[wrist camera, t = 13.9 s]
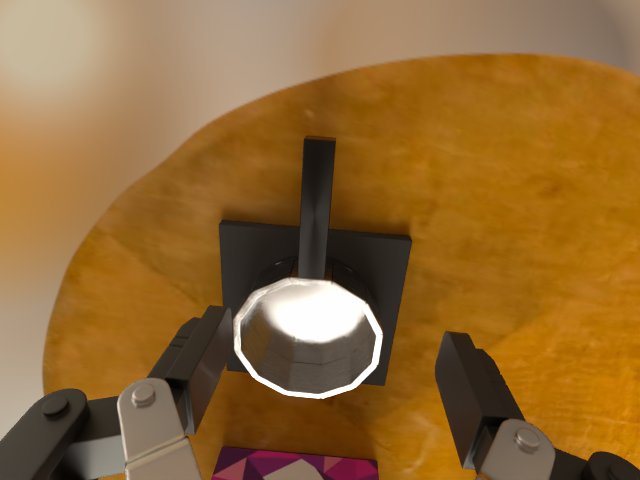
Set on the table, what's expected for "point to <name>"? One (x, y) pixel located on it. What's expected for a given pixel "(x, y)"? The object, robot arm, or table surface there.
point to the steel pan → (310, 304)
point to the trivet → (345, 246)
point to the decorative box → (289, 466)
